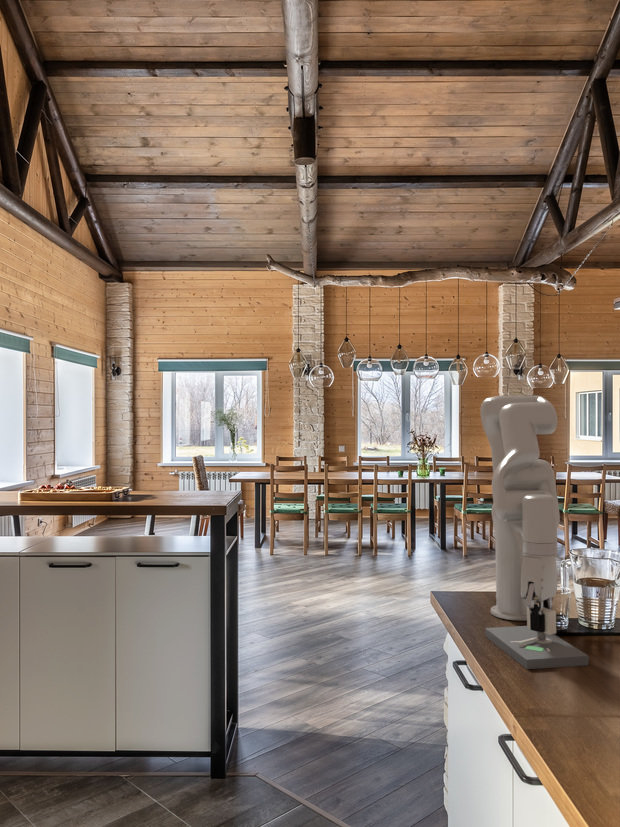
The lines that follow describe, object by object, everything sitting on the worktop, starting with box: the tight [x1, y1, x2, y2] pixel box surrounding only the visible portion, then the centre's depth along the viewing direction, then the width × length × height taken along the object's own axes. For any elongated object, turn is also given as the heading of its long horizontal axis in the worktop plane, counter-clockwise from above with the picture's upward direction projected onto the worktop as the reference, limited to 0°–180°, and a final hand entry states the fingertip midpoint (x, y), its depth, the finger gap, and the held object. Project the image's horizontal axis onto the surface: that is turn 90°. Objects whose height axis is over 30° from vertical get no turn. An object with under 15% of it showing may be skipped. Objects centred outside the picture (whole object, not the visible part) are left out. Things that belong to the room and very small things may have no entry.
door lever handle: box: [517, 605, 557, 645], centre depth 151 cm, size 6×9×7 cm
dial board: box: [484, 625, 590, 670], centre depth 153 cm, size 22×14×2 cm, turn 8°
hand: (541, 628), depth 153 cm, fingers closed on door lever handle, 3 cm apart
